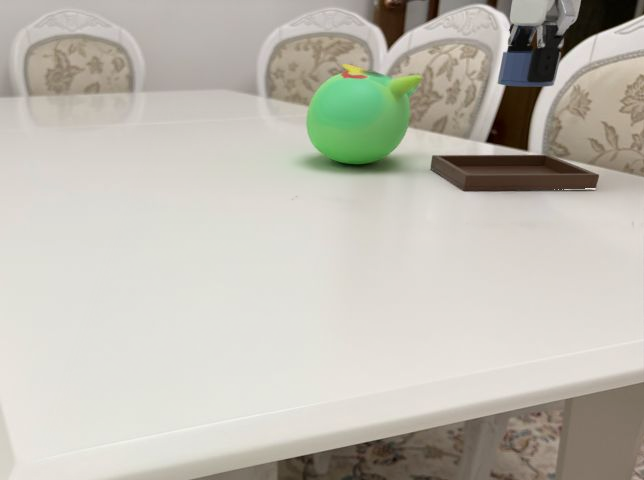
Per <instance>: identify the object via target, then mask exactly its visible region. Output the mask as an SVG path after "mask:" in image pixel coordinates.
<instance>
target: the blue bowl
mask: <svg viewBox="0 0 644 480" xmlns="http://www.w3.org/2000/svg"><path fill="white" fill-rule="evenodd" d="M532 53H533V50H532V51H507V50H506V51H503V52H502V57H501V62H500V67H499V73H498V78H497V84H498V85H501V86H510V87H530V88H531V87H533V88H534V87H535V88H536V87H537V88H539V87H541V88H542V87H554V85H555V82H556V79H557V75H558V70H559V65H560V62H561V57H562V53H561V52H560V53H559V57H558V62H557V66H556V71H555V75H554V79H553V81H551V82H529V81H528V80H527V77H528V72H529V67H530V62H531V57H532Z"/></svg>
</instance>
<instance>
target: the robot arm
mask: <svg viewBox="0 0 644 480" xmlns="http://www.w3.org/2000/svg"><path fill="white" fill-rule="evenodd" d="M581 1H582V0H511V6H510V12H509V28H508V31H509V36H508V40H507V45H508V46H507V50H506V52H507V51H533V53H532V57H531V62H530V67H529V72H528V77H527V80H528V81H529V82H551V81H553V79H554V75H555V71H556V66H557V62H558V57H559V53H561V49H562V48H563V46H564V43H565V41H564V40H565V37H566V35H567V34H568V33H569V28H570V26H571V25H573V24H574V23H575V22H576V21H577V19H578V16H579V12H580V7H581ZM535 34H536V46H537V47H534V45H531V43H532V41H533V39H534V36H535Z"/></svg>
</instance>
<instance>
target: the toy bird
mask: <svg viewBox="0 0 644 480" xmlns="http://www.w3.org/2000/svg"><path fill="white" fill-rule="evenodd" d="M341 66H342V67H343V68H344V70H346V72H341V73H338V74H336V75H334V76H332V77H330V78H328V79H327V80H325V81H324V82H323V83H322V84H321V85H320V86H319V87H318V89H317V90H316V91H315V93H314V94H313V96H312V98H311V100H310V103H309V105H308V109H307V113H306V122H305V123H306V133H307V135H308V138H309V140H310V142H311V144H312V145H313V147H314V148H315V149H316V150H317V151H318V152H319V153H320V154H322V155H323V156H324V157H326V158H329V159H330V160H332V161H335V162H338V163H340V164H341V163H342V164H347V165H366V164H371V163H374V162H377V161H379V160H382V159H384V158H386V157H387V156H389V155H390V154H391V153H393V152H394V151H395V150H396V149H397V148H398V146H399V145H400V144H401V142H402V141H403V139H404V138H405V136H406V133H407V131H408V129H409V125H410V121H411V103H410V100H409V99H410V97H411V96H412V95H413V94H414V93H415V92H416V90H417V89H418V88H419V86H420V84H421V82H422V81H423V77H422V76H421V75H418V74H415V75H406V76H400V77H397V78H396V77H395V78H392V77H390V76H388V75H386V74H384V73H380V72H377V71H376V70H373V69H372V70H371V69H365V68H362V67H359V66H356V65H352V64H348V63H342V64H341Z"/></svg>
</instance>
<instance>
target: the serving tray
mask: <svg viewBox="0 0 644 480" xmlns="http://www.w3.org/2000/svg"><path fill="white" fill-rule="evenodd" d="M429 168H431V169H433V170H434V171H436V172H437V173H438V174H437V173H436V172H435V173H436V174H437V175H439V174H440V175H441V176H440V175H439V176H440V177H442V176H443V177H444V178H443V177H442V178H443V179H445V180H446V179H447V180H446V181H447V182H449V181H450V182H449V183H451V184H452V183H453V184H452V185H454V186H455V187H457V188H459V189H460V190H462V191H463V192H494V191H495V192H508V191H509V192H513V191H514V192H520V191H519V190H554V189H555V190H558V189H559V190H562V189H563V190H564V189H585V188H596V189H597V186H598V182H599V178H600V174H598V173H596V172H593V171H591V170H589V169H585V168H584V167H581V166H578V165H575V164H573V163H570V162H568V161H565V160H563V159H560V158H558V157H555V156H553V155H550V154H433V155H431V161H430V166H429ZM431 169H430V170H431ZM434 171H433V172H434ZM517 190H518V191H517Z"/></svg>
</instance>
